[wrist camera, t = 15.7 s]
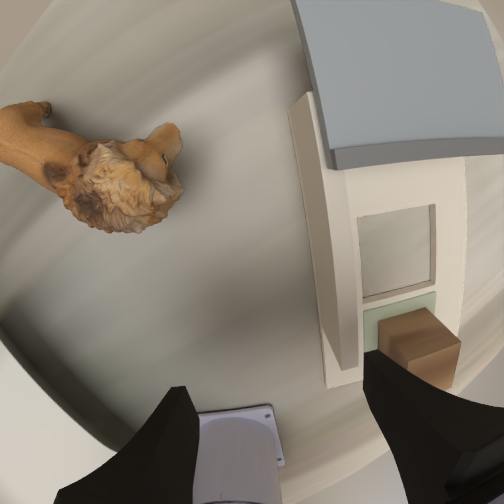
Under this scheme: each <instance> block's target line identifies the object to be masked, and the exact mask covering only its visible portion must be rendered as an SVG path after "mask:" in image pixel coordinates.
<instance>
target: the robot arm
mask: <svg viewBox="0 0 504 504" xmlns="http://www.w3.org/2000/svg"><path fill="white" fill-rule="evenodd" d="M363 391H364V393H365V396H366V399H367V402H368V405H369V407H370V410H371V412H372V414H373V416H374V418H375V420H376V421H377V423H378V425H379V427H380V429H381V431H382V433H383V435H384V437H385V439H386V441H387V443H388V445H389V447H390V449H391V451H392V453H393V455H394V459H395V461H396V464H397V467H398V470H399V473H400V476H401V479H402V482H403V485H404V489H405V493H406V496H407V500H408V504H504V408H502V407H494V406H489V405H485V404H480V403H476V402H472V401H469V400H466V399H463V398H460V397H457V396H455V395H452V394H450V393H448V392H445V391H443V390H441V389H439V388H437V387H435V386H433V385H431V384H429V383H427V382H425V381H424V380H422V379H420V378H419V377H417V376H415V375H414V374H412V373H411V372H409V371H408V370H406V369H405V368H403V367H402V366H400V365H399V364H398V363H396V362H395V361H393V360H392V359H391V358H389V357H388V356H387V355H385V354H384V353H382V352H381V351H380V350H378V349H376V350H372V351H368V352H365V353H363ZM266 414H269V415H266ZM284 465H285V459H284V455H283V451H282V447H281V442H280V438H279V434H278V430H277V426H276V421H275V417H274V413H273V408H272V407H271V406H268V405H265V406H259V407H253V408H246V409H239V410H231V411H223V412H214V413H205V414H197V412H196V410H195V407H194V405H193V403H192V401H191V398H190V396H189V394H188V391H187V389H186V387H185V386H179V387H171V388H170V390H169V391H168V392H167V394H166V395H165V396H164V398H163V399H162V401H161V402H160V403H159V405H158V406H157V408H156V409H155V410H154V412H153V413H152V414H151V416H150V417H149V418H148V420H147V421H146V422H145V424H144V425H143V426H142V427H141V428H140V430H139V431H138V432H137V433H136V434H135V436H134V437H133V438H132V439H131V440H130V441H129V442H128V443H127V444H126V445H125V446H124V447H123V448H122V449H121V450H120V451H119V452H118V453H117V454H116V455H115V456H113V457H112V458H111V459H109V460H108V461H107V462H106V463H104V464H103V465H102V466H101V467H99V468H98V469H96V470H95V471H93V472H92V473H90V474H88V475H87V476H85V477H84V478H82V479H80V480H78V481H77V482H74V483H72V484H70V485H68V486H66V487H64V488H62V489H59V491H58V493H57V496H56V498H55V501H54V503H53V504H282V497H281V489H280V481H279V473H278V467H281V466H284Z"/></svg>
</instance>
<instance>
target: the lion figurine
mask: <svg viewBox="0 0 504 504" xmlns="http://www.w3.org/2000/svg"><path fill="white" fill-rule="evenodd" d="M50 109H51V107H50V104H49V103H48V102H38V103H34V102H33V101H28V102H25V103H19V104H13V105H9V106H6V107H3V108H2V109H1V110H0V162H2V163H4V164H6V165H9V166H12V167H14V168H16V169H18V170H20V171H22V172H23V173H25V174H26V175H27V176H29V177H30V178H32V179H33V180H34V181H36V182H37V183H39V184H40V185H42V186H43V187H45V188H47V189H48V190H50V191H52V192H54V193H56V194H58V196H59V197H61V198H62V199H63V202H64V206H65V208H66V209H69V210H71V212H72V214H73V216H75V217H76V218H77V219H78V220H79V221H81V222H85V223H87V224H88V226H89V227H91V228H93V227H96V228H97V229H99V230H104V231H105V232H107V233H109V234H110V233H112V232H113V231H115V232H122V231H123V232H125V233H131V232H135V233H138V234H139V233H141V232H142V231H143V230H145V228H146V227H148V226H152V225H154V224H156V223H159V222H161V221H162V219H163V218H167V216H168V210H169V209H170V208H171V207H172V206H173V205H174V203H175V202H176V201H178V200H179V198H180V196H181V194H182V193H183V192H184V189H183V188H182V185H181V183H180V182H179V181H178V179H177V176H176V175H175V174H174V173H172V171H171V168H172V164H173V160H174V158H175V157H176V156H177V155H178V153H179V152H180V151H181V150H182V147H183V142H182V139H181V137H180V131H179V130H178V128H177V127H176V125H175V124H173V123H164V124H163V125H162V126H159V127H157V128H156V129H155V130H154V131H153V132H152V133H151V134H150V136H149V137H148V138H146V139H134V140H131V141H129V142H123V141H119V140H115V139H113V140H100V141H94V142H91V143H90V142H89V141H88V140H86V139H85V138H83V137H81V136H79V135H76V134H74V133H72V132H68V131H64V130H60V129H57V128H51V127H43V126H42V125H41V119H42V118H45V117H47V116H48V115H49V114H50Z"/></svg>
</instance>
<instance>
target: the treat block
mask: <svg viewBox="0 0 504 504" xmlns="http://www.w3.org/2000/svg"><path fill="white" fill-rule="evenodd" d="M460 346H461V341H460V340H459V339H458V338H457V337H456V336H455V335H454V334H453V333H452V332H451V331H450V330H449V329H448V328H447V327H446V326H445V325H444V324H443V323H442V322H441V321H440V320H439V319H437V318H436V317H435V316H434V315H433V314H432V313H431V312H430V311H429V310H428V309H427V308H426V307H424V308H420V309H417V310H414V311H410V312H407V313H404V314H400V315H397V316H393V317H390V318H386V319H383V320H379V321H378V348H377V349H378V350H380V351H381V352H382V353H384V354H385V355H387V356H388V357H389V358H391V359H392V360H393V361H395V362H396V363H398V364H399V365H400V366H402V367H403V368H405V369H406V370H408V371H409V372H411V373H412V374H414V375H415V376H417V377H419V378H420V379H422V380H424V381H425V382H427V383H429V384H431V385H433V386H435V387H437V388H439V389H441V390H443V391H444V390H446V389H449V388H451V386H452V382H453V378H454V374H455V370H456V365H457V361H458V356H459V351H460Z"/></svg>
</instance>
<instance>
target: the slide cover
mask: <svg viewBox="0 0 504 504" xmlns="http://www.w3.org/2000/svg"><path fill="white" fill-rule="evenodd" d="M290 1H291V4H292V8H293V11H294V15H295V18H296V22H297V26H298V30H299V33H300V37H301V41H302V45H303V49H304V53H305V57H306V61H307V66H308V70H309V74H310V79H311V83H312V88H313V92H314V97H315V102H316V107H317V112H318V117H319V122H320V128H321V133H322V138H323V144H324V150H325V156H326V162H327V168H328V169H332V170H337V171H339V170H346V169H353V168H360V167H367V166H375V165H383V164H391V163H400V162H409V161H419V160H429V159H439V158H451V157H464V156H478V155H495V154H504V85H503V80H502V76H501V72H500V67H499V64H498V60H497V56H496V52H495V49H494V45H493V42H492V39H491V36H490V33H489V29H488V27H487V24H486V21H485V18H484V15H483V13H482V12H479V11H476V10H472V9H469V8H465V7H462V6H458V5H454V4H450V3H446V2H441V1H437V0H290Z"/></svg>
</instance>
